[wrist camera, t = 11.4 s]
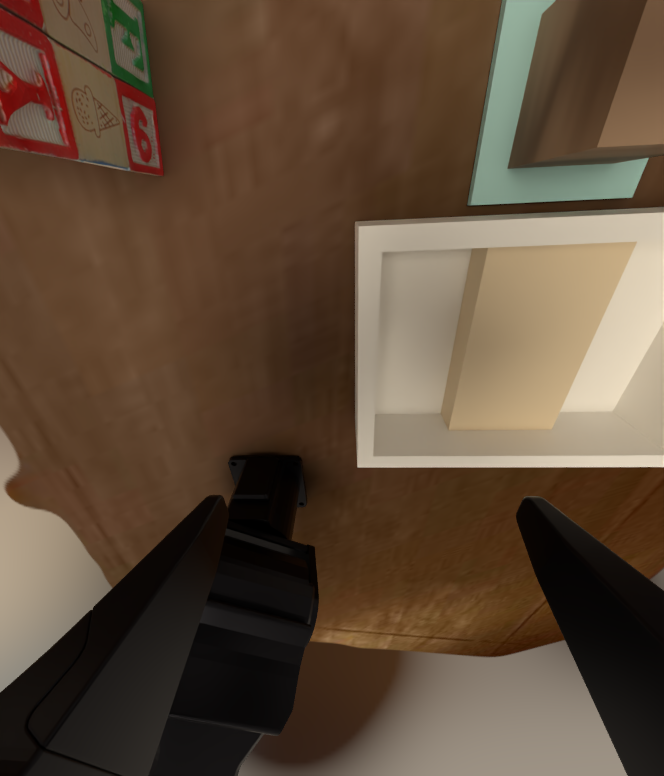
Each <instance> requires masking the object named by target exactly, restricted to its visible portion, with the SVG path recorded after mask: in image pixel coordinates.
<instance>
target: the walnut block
mask: <svg viewBox="0 0 664 776" xmlns="http://www.w3.org/2000/svg"><path fill="white" fill-rule="evenodd" d="M662 155H664V0H556V1H555V2H554V3H553V4H552V5H551V6H550V7H549V8H547V9H546V10H545V11H544V12H543V13H542V16H541V20H540V25H539V29H538V34H537V38H536V42H535V47H534V51H533V56H532V60H531V65H530V69H529V74H528V78H527V83H526V87H525V92H524V96H523V101H522V105H521V110H520V114H519V119H518V123H517V128H516V132H515V137H514V141H513V146H512V150H511V155H510V159H509V164H508V168H507V169H514V168H533V167H553V166H573V165H593V164H613V163H620V162H626V161H632V160H638V159H644V158H650V157H656V156H662Z"/></svg>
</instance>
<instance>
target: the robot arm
mask: <svg viewBox="0 0 664 776" xmlns="http://www.w3.org/2000/svg"><path fill="white" fill-rule="evenodd" d="M296 462H297V463H296ZM228 464H229V467H230V470H231V474H232V477H233V480H234V483H235V489H234V491H233V494H232V496H231V499H230V502H229V504H228V507H227V506H226V503H225V500H224V498H223V496H221V495H209V496H207V497H206V498H205V499H204V500H203V501H202V502H201V503H200V504H199V505H198V506H197V507H196V508H195V509H194V510H193V511H192V512H191V513H190V514H189V515H188V516H187V517H185V518H184V519H183V520H182V521H181V522H180V523H179V524H178V525H177V526H176V527H175V528H174V529H173V530H172V531H171V532H170V533H169V534H168V535H167V536H166V537H165V538H164V539H163V540H162V541H161V542H160V543H159V544H158V545H157V546H156V547H155V548H154V549H153V550H152V551H151V552H150V553H149V554H147V555H146V556H145V557H144V558H143V559H142V560H141V561H140V562H139V563H138V564H137V565H136V566H135V567H134V568H133V569H132V570H131V571H130V572H129V573H128V574H127V575H126V576H125V577H124V578H123V579H122V580H121V581H120V582H119V583H118V584H117V585H116V586H115V587H114V588H113V589H112V590H111V591H110V592H108V593H107V594H106V595H105V596H104V597H103V598H102V599H101V600H100V601H99V602H98V603H97V604H96V605H95V606H94V607H93V610H90V611H89V612H88V613H87V614H86V615H85V616H84V617H83V618H82V619H81V620H80V621H79V622H77V624H75V625H74V626H73V627H72V628H71V629H70V630H69V631H68V632H67V633H66V634H65V635H64V636H63V637H62V638H61V639H60V640H58V642H57V643H55V644H54V645H53V646H52V647H51V648H50V649H49V650H48V651H47V652H46V653H45V654H43V655H42V656H41V657H40V658H39V659H38V660H37V661H36V662H35V663H33V664H32V665H31V666H30V667H29V668H28V669H27V670H25V671H24V672H23V673H22V674H21V675H20V676H19V677H18V678H17V679H15V680H14V681H13V682H12V683H11V684H10V685H8V686H7V687H6V688H5V689H4V690H3V691H2V692H0V776H238V772H239V769H240V767H241V765H242V763H243V762H244V761H245V759H246V757H248V755H249V754H250V752H251V751H252V750H253V748H254V747H255V745H256V744H257V743H258V741H259V740H260V739H261V737H262V736H263V734H269V735H275V736H278V735H279V734H280V733H281V731H282V729H283V728H284V726H285V724H286V722H287V720H288V718H289V716H290V714H291V712H292V710H293V704H294V699H295V693H296V687H297V681H298V675H299V670H300V665H301V661H302V657H303V653H304V649H305V647H306V646H307V644H308V642H309V641H310V638H311V636H312V633H313V630H314V627H315V623H316V618H317V612H318V603H319V594H318V582H317V570H316V559H315V547H314V546H311V545H304V544H301V543H298V542H295V541H291V540H292V534H293V527H294V521H295V515H296V509H297V507H305V506H306V504H307V497H306V489H305V482H304V474H303V467H302V460H301V458H299V457H296V456H259V457H231V458H230V460H229V462H228ZM516 519H517V523H518V526H519V529H520V532H521V535H522V538H523V541H524V543H525V546H526V549H527V552H528V555H529V558H530V561H531V563H532V566H533V569H534V572H535V574H536V577H537V579H538V582H539V584H540V586H541V588H542V590H543V593H544V595H545V597H546V599H547V601H548V604H549V606H550V608H551V610H552V612H553V614H554V617H555V619H556V621H557V623H558V625H559V627H560V630H561V632H562V634H563V636H564V638H565V641H566V642H567V645H568V647H569V649H570V651H571V654H572V656H573V658H574V660H575V662H576V664H577V666H578V669H579V671H580V673H581V675H582V677H583V680H584V682H585V684H586V686H587V688H588V690H589V693H590V695H591V697H592V699H593V701H594V703H595V706H596V708H597V710H598V712H599V714H600V717H601V719H602V721H603V723H604V725H605V727H606V730H607V732H608V734H609V736H610V738H611V741H612V743H613V745H614V747H615V749H616V751H617V753H618V756H619V758H620V760H621V762H622V764H623V767H624V769H625V771H626V773H627V775H628V776H664V591H663V590H662V589H661V588H659V587H658V586H657V585H656V584H654V583H653V582H651V581H650V580H649V579H648V578H646V577H645V576H644V575H643V574H641V573H640V572H639V571H637V570H636V569H635V568H633V567H632V566H631V565H630V564H628V563H627V562H626V561H624V560H623V559H622V558H620V557H619V556H618V555H617V554H615V553H614V552H613V551H611V550H610V549H609V548H607V547H606V546H605V545H603V544H602V543H601V542H600V541H598V540H597V539H596V538H594V537H593V536H592V535H590V534H589V533H588V532H587V531H585V530H584V529H583V528H581V527H580V526H579V525H577V524H576V523H575V522H574V521H572V520H571V519H570V518H568V517H567V516H566V515H564V514H563V513H562V512H561V511H559V510H558V509H557V508H555V507H554V506H553V505H551V504H550V503H549V502H548V501H546V500H545V499H543V498H542V497H539V496H526V497H524V498H523V500H522V502H521V504H520V506H519V509H518V511H517V513H516Z"/></svg>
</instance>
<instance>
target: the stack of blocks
mask: <svg viewBox="0 0 664 776" xmlns="http://www.w3.org/2000/svg"><path fill="white" fill-rule="evenodd" d="M0 148H5V149H10V150H16V151H22V152H28V153H33V154H38V155H44V156H51V157H57V158H63V159H69V160H73V161H78V162H83V163H88V164H93V165H99V166H104V167H109V168H114V169H119V170H124V171H130V172H137V173H143V174H149V175H155V176H163V175H164V172H163V164H162V156H161V147H160V139H159V131H158V123H157V115H156V105H155V101H154V98H153V90H152V81H151V73H150V64H149V55H148V46H147V38H146V30H145V22H144V11H143V4H142V2H141V1H140V0H0Z"/></svg>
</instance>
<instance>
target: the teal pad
mask: <svg viewBox="0 0 664 776" xmlns="http://www.w3.org/2000/svg"><path fill="white" fill-rule="evenodd" d="M555 1H556V0H502V4H501V10H500V16H499V22H498V28H497V34H496V40H495V45H494V51H493V57H492V63H491V69H490V75H489V81H488V86H487V92H486V98H485V104H484V110H483V116H482V122H481V127H480V133H479V139H478V145H477V151H476V157H475V162H474V168H473V174H472V180H471V186H470V192H469V198H468V203H467V205H490V204H510V203H531V202H551V201H571V200H592V199H612V198H632V197H633V194H634V192H635V190H636V187H637V185H638V182H639V180H640V178H641V175H642V173H643V170H644V168H645V166H646V163H647V161H648V159H649V158H644V159H638V160H632V161H626V162H620V163H613V164H593V165H573V166H553V167H533V168H514V169H507V168H508V164H509V159H510V155H511V150H512V146H513V141H514V137H515V132H516V128H517V123H518V119H519V114H520V110H521V105H522V101H523V96H524V92H525V87H526V83H527V78H528V74H529V69H530V65H531V60H532V56H533V51H534V47H535V42H536V38H537V34H538V29H539V25H540V20H541V16H542V13H543V12H544V11H545V10H546V9H547V8H549V7H550V6H551V5H552V4H553V3H554V2H555Z"/></svg>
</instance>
